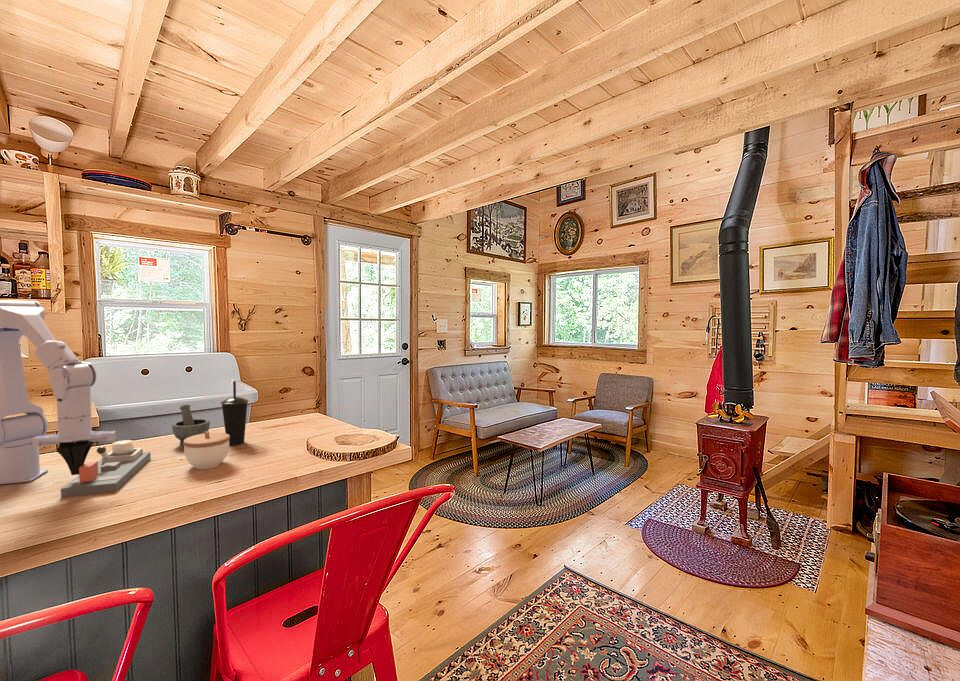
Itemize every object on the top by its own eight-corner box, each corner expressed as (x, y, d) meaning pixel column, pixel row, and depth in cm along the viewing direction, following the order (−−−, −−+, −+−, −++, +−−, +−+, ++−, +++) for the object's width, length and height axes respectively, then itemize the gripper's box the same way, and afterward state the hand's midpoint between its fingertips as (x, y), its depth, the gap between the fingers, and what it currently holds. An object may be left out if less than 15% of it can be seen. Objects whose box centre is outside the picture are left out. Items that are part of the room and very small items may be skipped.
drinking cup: (225, 440, 142) (223, 379, 141) (251, 439, 144) (250, 379, 143) (218, 447, 135) (217, 383, 133) (246, 445, 137) (245, 382, 136)
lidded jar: (237, 464, 121) (237, 430, 120) (195, 475, 112) (194, 439, 111) (218, 456, 127) (218, 424, 126) (176, 466, 118) (176, 432, 117)
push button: (109, 454, 115) (109, 445, 115) (116, 450, 119) (115, 441, 119) (129, 453, 117) (129, 444, 117) (135, 448, 121) (135, 439, 121)
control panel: (61, 497, 98) (60, 482, 98) (106, 462, 120) (106, 450, 120) (116, 491, 101) (115, 476, 101) (150, 458, 124) (150, 446, 123)
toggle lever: (102, 462, 109) (93, 450, 108) (105, 460, 111) (97, 447, 110) (110, 459, 110) (101, 446, 109) (113, 457, 111) (104, 444, 111)
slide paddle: (79, 482, 100) (78, 467, 100) (87, 476, 104) (87, 462, 104) (90, 481, 101) (89, 466, 101) (98, 475, 105) (97, 461, 105)
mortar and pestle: (214, 443, 139) (213, 406, 138) (180, 450, 131) (179, 411, 130) (200, 437, 145) (199, 401, 145) (167, 443, 138) (166, 405, 137)
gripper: (23, 422, 94) (25, 483, 95) (106, 417, 100) (108, 475, 101) (41, 415, 101) (44, 472, 102) (118, 411, 106) (120, 465, 107)
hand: (77, 473), depth 102 cm, fingers closed
